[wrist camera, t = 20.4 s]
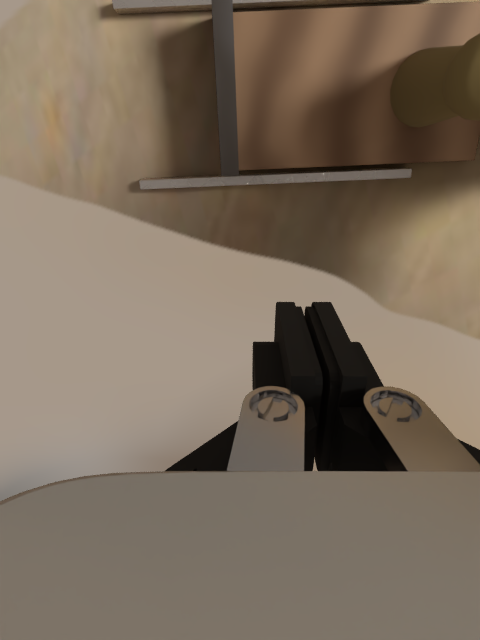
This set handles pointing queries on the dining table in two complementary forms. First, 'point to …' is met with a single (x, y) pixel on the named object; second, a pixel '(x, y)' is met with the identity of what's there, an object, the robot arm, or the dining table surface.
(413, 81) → the cork
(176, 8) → the rails
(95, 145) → the dining table surface
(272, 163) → the brown tray
